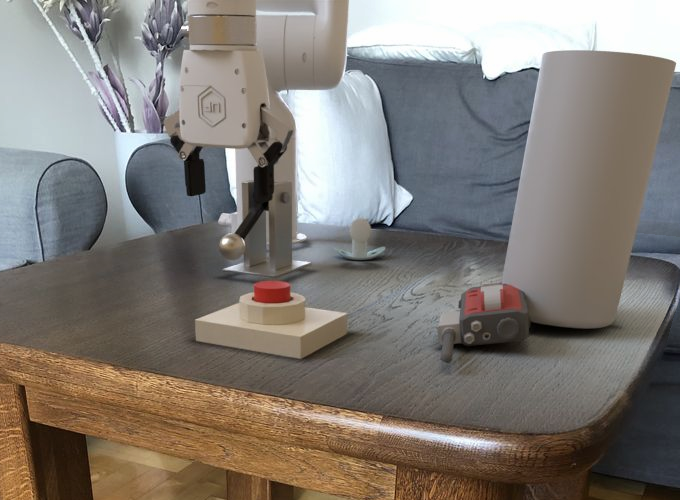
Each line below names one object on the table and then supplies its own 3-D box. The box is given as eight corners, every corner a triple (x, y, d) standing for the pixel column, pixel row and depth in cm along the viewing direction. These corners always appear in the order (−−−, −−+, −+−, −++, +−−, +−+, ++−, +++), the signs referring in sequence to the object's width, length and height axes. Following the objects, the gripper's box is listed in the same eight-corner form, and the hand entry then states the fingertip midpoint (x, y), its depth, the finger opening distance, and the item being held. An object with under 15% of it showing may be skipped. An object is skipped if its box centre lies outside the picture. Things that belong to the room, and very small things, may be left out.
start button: (247, 303, 81) (247, 286, 80) (266, 296, 84) (265, 279, 83) (279, 308, 79) (278, 290, 79) (296, 300, 82) (296, 283, 81)
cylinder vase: (608, 336, 82) (675, 54, 72) (486, 316, 86) (533, 47, 76) (617, 317, 93) (676, 70, 83) (507, 301, 97) (551, 63, 87)
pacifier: (387, 270, 114) (382, 261, 119) (389, 224, 111) (385, 216, 116) (334, 270, 114) (332, 260, 119) (335, 223, 111) (333, 215, 116)
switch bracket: (275, 284, 105) (274, 187, 99) (222, 278, 108) (219, 182, 103) (311, 271, 113) (312, 179, 107) (261, 265, 116) (260, 176, 111)
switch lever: (241, 266, 101) (233, 246, 99) (219, 264, 103) (211, 243, 100) (285, 200, 107) (279, 179, 104) (264, 199, 108) (257, 177, 106)
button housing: (195, 341, 82) (193, 301, 80) (248, 319, 90) (247, 282, 88) (300, 359, 77) (301, 317, 75) (347, 334, 85) (348, 295, 83)
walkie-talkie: (443, 315, 91) (435, 375, 74) (440, 276, 89) (430, 327, 72) (524, 306, 89) (536, 366, 72) (523, 266, 87) (534, 316, 70)
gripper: (139, 35, 91) (152, 196, 100) (273, 35, 84) (275, 209, 93) (179, 36, 97) (188, 188, 105) (307, 36, 90) (306, 199, 98)
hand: (229, 198), depth 99 cm, fingers open, 9 cm apart
